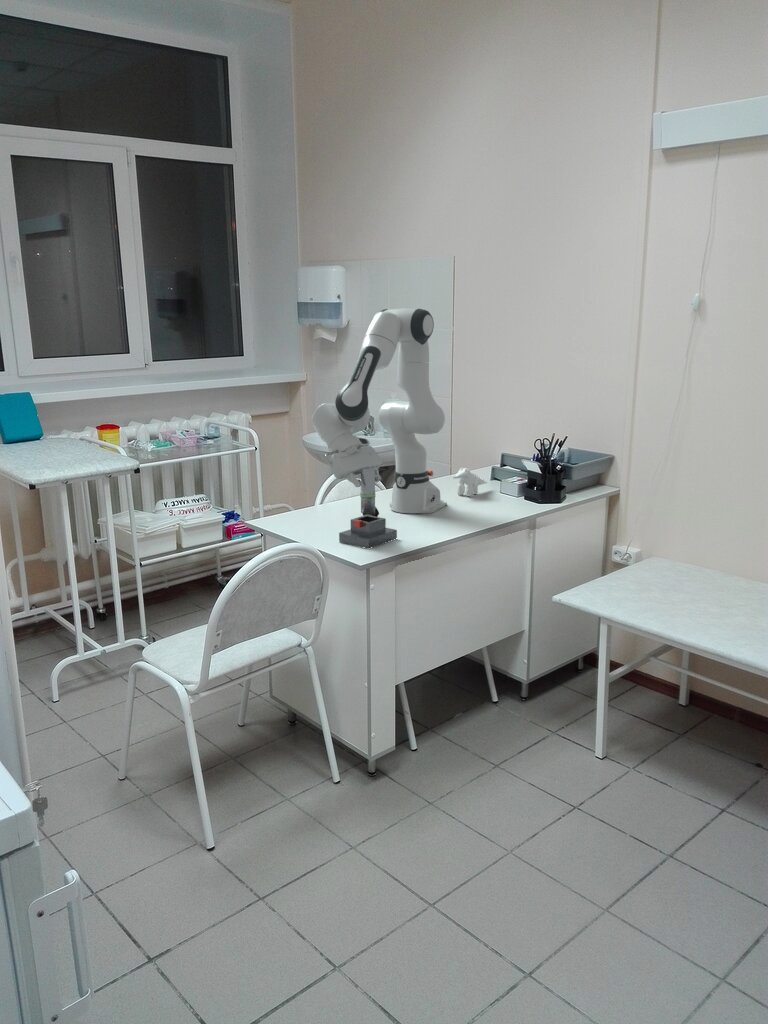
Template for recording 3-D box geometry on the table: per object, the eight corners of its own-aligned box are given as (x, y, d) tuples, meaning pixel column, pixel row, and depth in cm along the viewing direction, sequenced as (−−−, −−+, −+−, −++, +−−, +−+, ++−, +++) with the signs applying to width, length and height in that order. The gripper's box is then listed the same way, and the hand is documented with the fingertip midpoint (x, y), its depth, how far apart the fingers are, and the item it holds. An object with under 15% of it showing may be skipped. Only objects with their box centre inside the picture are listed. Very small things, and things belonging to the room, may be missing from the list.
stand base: (367, 532, 267) (367, 510, 265) (396, 538, 259) (396, 516, 258) (339, 542, 256) (338, 518, 254) (368, 548, 249) (368, 525, 247)
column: (367, 509, 259) (366, 466, 255) (378, 511, 256) (378, 468, 252) (357, 512, 255) (357, 468, 252) (369, 514, 252) (368, 470, 249)
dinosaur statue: (444, 496, 313) (446, 467, 311) (479, 492, 331) (482, 465, 329) (459, 499, 309) (461, 470, 307) (493, 494, 327) (496, 467, 325)
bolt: (364, 536, 270) (369, 522, 284) (377, 529, 269) (381, 516, 283) (355, 521, 269) (360, 508, 283) (369, 514, 268) (373, 502, 282)
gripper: (327, 446, 247) (352, 482, 243) (371, 438, 262) (394, 472, 259) (317, 459, 250) (341, 495, 247) (360, 450, 266) (384, 484, 262)
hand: (369, 483), depth 253 cm, fingers open, 8 cm apart
